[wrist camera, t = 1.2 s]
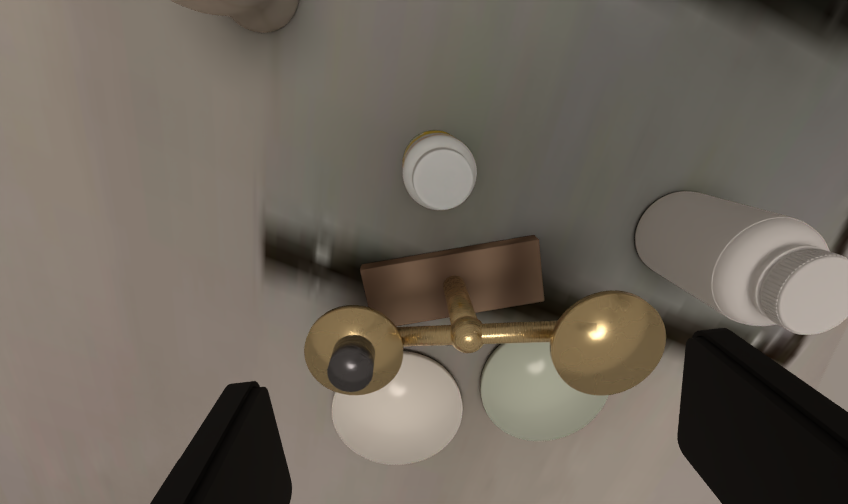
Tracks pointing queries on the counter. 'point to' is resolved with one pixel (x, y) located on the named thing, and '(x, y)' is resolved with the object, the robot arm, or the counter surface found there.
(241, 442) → the robot arm
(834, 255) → the pill bottle
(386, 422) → the cream dish
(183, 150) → the counter surface
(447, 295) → the brass balance
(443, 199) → the supplement bottle
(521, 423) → the pale green dish
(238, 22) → the beer glass
